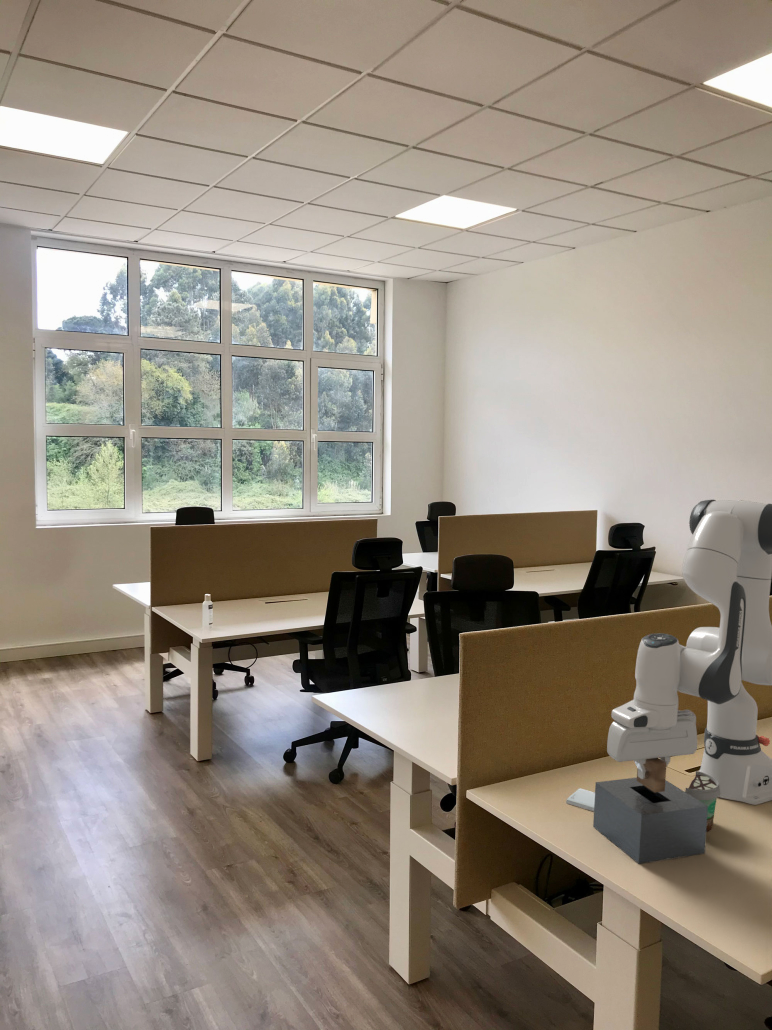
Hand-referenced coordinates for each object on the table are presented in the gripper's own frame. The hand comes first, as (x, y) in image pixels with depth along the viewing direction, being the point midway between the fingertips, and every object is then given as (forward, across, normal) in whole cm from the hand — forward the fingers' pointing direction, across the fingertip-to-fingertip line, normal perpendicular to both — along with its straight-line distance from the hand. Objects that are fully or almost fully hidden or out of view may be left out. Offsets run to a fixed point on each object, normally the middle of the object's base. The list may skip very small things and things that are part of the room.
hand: (650, 776), depth 165 cm
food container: (+14, -16, -2) cm, 21 cm away
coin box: (+14, 0, 0) cm, 14 cm away
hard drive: (+14, 0, -17) cm, 23 cm away
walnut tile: (+2, 0, 0) cm, 2 cm away
